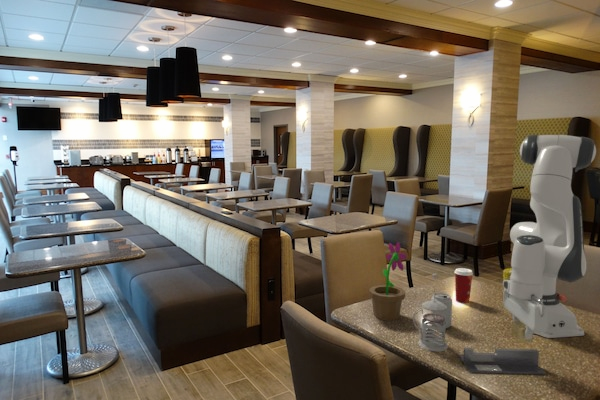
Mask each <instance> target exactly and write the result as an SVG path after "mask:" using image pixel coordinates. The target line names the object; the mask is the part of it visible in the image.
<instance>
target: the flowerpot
mask: <svg viewBox="0 0 600 400" xmlns="http://www.w3.org/2000/svg"><path fill="white" fill-rule="evenodd" d="M400 243H401V242H399V241H398V242H397V243H396V244H395V246H394V245H393V244H392V243H391V242H389V243H388V250H389V252H390V253H388V254H386V255H385V259H387V261H389V260H390V262H389V264H388V267H387V268H383V269H382V274H383V277H384V278H386V281H385V284H383V285H382V284H381V285H374V286H371V287H370V288H369V290H368V295H369V297H370V298H371V301H372V302H371V303H372V312H373V316H374V317H375V318H377V319H378V320H382V321H395V320H397V319H399V318H400V315H401V307H402V302H403V301H404V300H405V299H406V290H404V289H403V288H402V287H398V286H395V284H393V283H392V282H391V281H390V277H389V276H390V271H393V272H394V271H395V270H396V269H397V267H398V268H399V270H400V271H402V272H403V271H404V264H403V263H402V261H401V260H405V259H406V258H407V254H406V253H402V252H401V253H399V252H400V251H401V244H400Z"/></svg>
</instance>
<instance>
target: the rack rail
mask: <svg viewBox="0 0 600 400" xmlns="http://www.w3.org/2000/svg"><path fill="white" fill-rule="evenodd" d="M539 353H540V351H539V350H538V349H534V348H533V349H529V348H528V349H526V348H524V349H523V348H495V349H494V352H474V348H473V347H463V354H458V357H459V359H460V360H461V363H463V365H464V367H465V368H466V370H467V371H468V372H469V373H471V374H473V373H474V374H505V375H506V374H509V375H542V374H546V371H545V370H543V368H541V366H540V365H539V355H540V354H539Z"/></svg>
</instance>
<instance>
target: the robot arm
mask: <svg viewBox="0 0 600 400" xmlns="http://www.w3.org/2000/svg"><path fill="white" fill-rule="evenodd" d="M596 154H597V148H596V143H595V141H594V140H593V139H592V138H589V137H585V136H576V135H575V136H574V135H566V134H541V135H539V134H530V135H527V136H526V137H525V138H524V140H523V141H522V142H521V144H520V147H519V155H520V158H521V161H523V163H524V164H527V165H531V166H533V165H534V166H533V169H532V170H533V171H532V173H531V178H530V179H531V180H530V186H529V191H530V201H529V206H530V209H531V210H532V211H533V213H534V214H535V215H534V216H535V218H536V222H534V221H520V222H517V223H515V224H514V225H513V226H512V227H511V229H510V231H509V237H510V240H511V243H512V244H513V247H512V252H511V253H512V254H511V261H510V267H511V268H512V273H511V276H510V280H503V281H502V287H503V296H502V297H503V298H502V301H503V302H502V303H503V304H502V305H503V307H504V309H506V310H507V311H508V312H510V314H512V321H515V322H523V323H524V324H525V328H526V330H525V331H523V336H524V337H525V338H526V339H531V338H532V339H533V337H532V333H533V335H534V334H535V335H538V336H540V337H541V336H542V337H544V338H547V339H552V338H553V339H557V338H568V337H582V336H585V330H584V329H583V328H582V327H581V326H580V325H578V320H577V317H576V315H575V313H573V312H572V311H571V310H569V308H567V307H566V305H564V304H563V303H561V302H566V301H567V296H565V295H563V294H559V292H556V287H557V280H561V281H564V282H567V283H574V282H577V281H579V280H581V279H583V278H584V277H585V274H586V272H587V266H588V265H587V264H588V263H587V259H586V253H585V243H584V242H585V241H584V223H583V222H584V221H583V220H584V219H583V209H582V203H581V200H580V198H579V197H578V196H576V195H575V194H574V193H573V190H572V179H573V169H575V171H574V172H575V173H577V172H578V171H579V170H583V169H586V168H587V167H589V166H590V165H591V163H592V162H593V161H594V160H595V158H596V156H597V155H596ZM560 301H561V302H560Z"/></svg>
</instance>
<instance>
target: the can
mask: <svg viewBox="0 0 600 400" xmlns="http://www.w3.org/2000/svg"><path fill="white" fill-rule="evenodd" d="M432 300H433V301H434V293H433V295H432V296H431V298H430V301H432ZM435 301H439V302H441V303H443V304H444V305H446V306H447V309H446V310H444V311H430V313H434V314H439V315H441V316H443V317H444V318H445V320H444V321H445V322H446V329H448V328H450V327H451V326H452V318H453V317H452V316H453V315H452V314H453V313H452V312H453V310H452V309H453V299H452V298H451V294H449V293H445V292H435ZM432 323H433V322H432ZM434 324H436V325H437V326H441V325H439V324H437V323H434ZM431 326H434V325H433V324H431ZM435 327H436V326H435Z"/></svg>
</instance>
